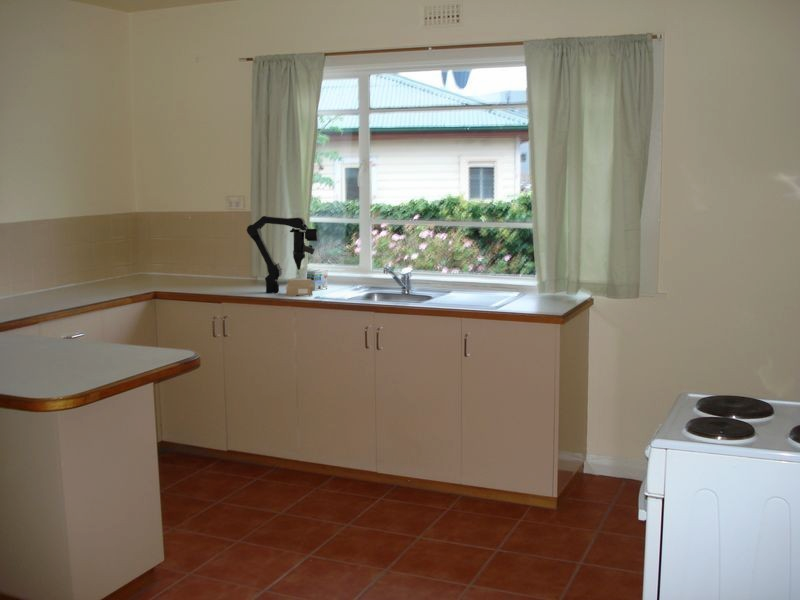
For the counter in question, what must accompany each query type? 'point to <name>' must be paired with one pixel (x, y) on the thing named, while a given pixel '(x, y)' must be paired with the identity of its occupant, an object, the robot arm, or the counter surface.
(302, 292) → the carton
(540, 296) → the counter surface
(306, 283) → the flap near
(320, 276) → the light bulb box
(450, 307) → the counter surface
